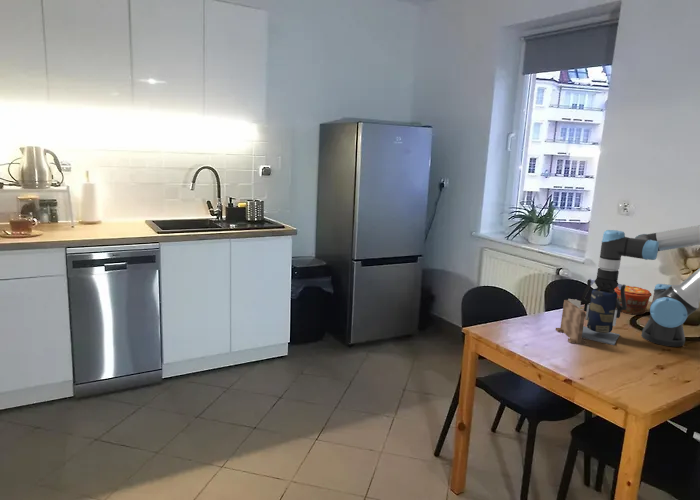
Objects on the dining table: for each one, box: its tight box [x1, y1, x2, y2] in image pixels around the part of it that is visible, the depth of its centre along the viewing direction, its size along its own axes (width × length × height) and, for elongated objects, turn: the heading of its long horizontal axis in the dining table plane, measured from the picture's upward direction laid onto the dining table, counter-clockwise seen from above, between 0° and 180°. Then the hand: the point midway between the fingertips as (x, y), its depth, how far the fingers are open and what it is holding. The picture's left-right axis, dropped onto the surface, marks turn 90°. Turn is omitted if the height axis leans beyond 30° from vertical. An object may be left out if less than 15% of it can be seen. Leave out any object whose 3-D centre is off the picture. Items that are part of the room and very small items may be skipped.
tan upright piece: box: [555, 299, 587, 345], centre depth 205 cm, size 16×6×13 cm, turn 0°
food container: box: [614, 285, 653, 316], centre depth 245 cm, size 16×16×11 cm
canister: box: [586, 288, 617, 333], centre depth 206 cm, size 10×10×18 cm
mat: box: [582, 325, 620, 346], centre depth 208 cm, size 14×14×1 cm
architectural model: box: [567, 298, 584, 311], centre depth 236 cm, size 3×7×7 cm, turn 58°
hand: (600, 322), depth 207 cm, fingers closed on canister, 9 cm apart
